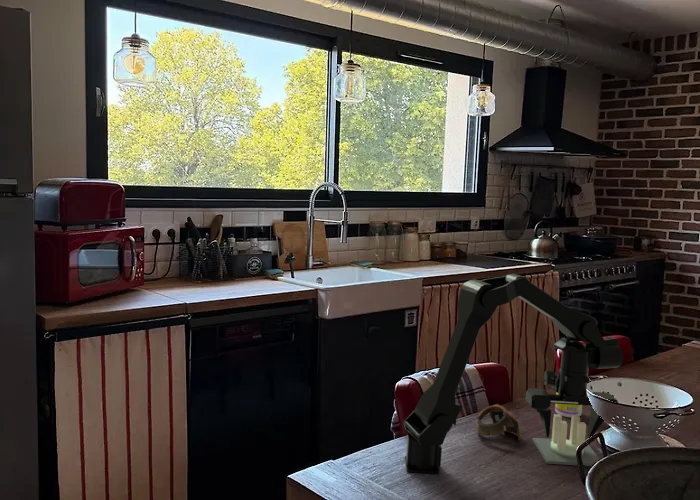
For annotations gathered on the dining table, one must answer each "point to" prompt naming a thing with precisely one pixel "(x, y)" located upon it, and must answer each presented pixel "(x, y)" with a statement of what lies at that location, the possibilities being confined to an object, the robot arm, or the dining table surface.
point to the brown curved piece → (497, 421)
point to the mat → (554, 458)
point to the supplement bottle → (568, 409)
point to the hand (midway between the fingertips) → (568, 437)
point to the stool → (560, 432)
